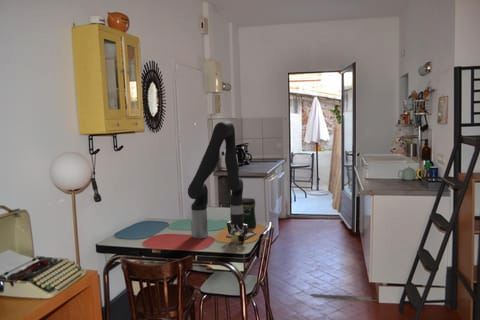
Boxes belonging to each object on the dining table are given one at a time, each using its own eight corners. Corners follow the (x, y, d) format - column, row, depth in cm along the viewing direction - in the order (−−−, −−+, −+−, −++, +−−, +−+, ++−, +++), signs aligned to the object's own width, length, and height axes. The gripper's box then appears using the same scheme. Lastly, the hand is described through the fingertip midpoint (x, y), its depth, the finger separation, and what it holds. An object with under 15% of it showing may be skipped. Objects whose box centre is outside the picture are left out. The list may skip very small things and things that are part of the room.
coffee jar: (257, 224, 264) (256, 197, 262) (254, 228, 256) (253, 200, 254) (243, 224, 267) (242, 196, 264) (240, 227, 259) (238, 199, 257)
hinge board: (226, 236, 241) (226, 230, 241) (239, 230, 252) (239, 225, 251) (244, 240, 234) (244, 234, 233) (256, 234, 244) (256, 228, 244)
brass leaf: (231, 243, 230) (230, 234, 229) (238, 239, 235) (238, 231, 235) (237, 244, 227) (237, 235, 226) (244, 241, 233) (244, 232, 232)
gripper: (222, 212, 230) (224, 240, 232) (243, 215, 222) (244, 244, 224) (230, 209, 236) (231, 237, 238) (250, 212, 228) (251, 240, 230)
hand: (237, 240), depth 231 cm, fingers open, 5 cm apart
